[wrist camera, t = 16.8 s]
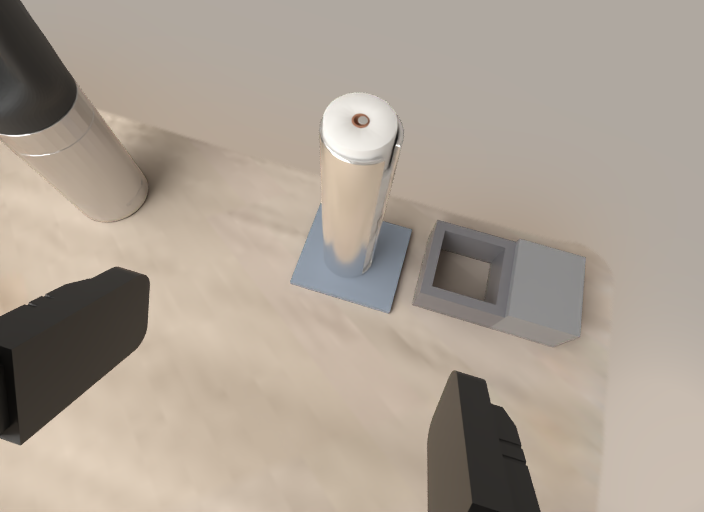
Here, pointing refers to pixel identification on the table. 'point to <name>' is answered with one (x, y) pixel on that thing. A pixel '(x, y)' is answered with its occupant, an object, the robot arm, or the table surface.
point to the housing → (509, 285)
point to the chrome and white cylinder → (356, 178)
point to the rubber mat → (364, 289)
